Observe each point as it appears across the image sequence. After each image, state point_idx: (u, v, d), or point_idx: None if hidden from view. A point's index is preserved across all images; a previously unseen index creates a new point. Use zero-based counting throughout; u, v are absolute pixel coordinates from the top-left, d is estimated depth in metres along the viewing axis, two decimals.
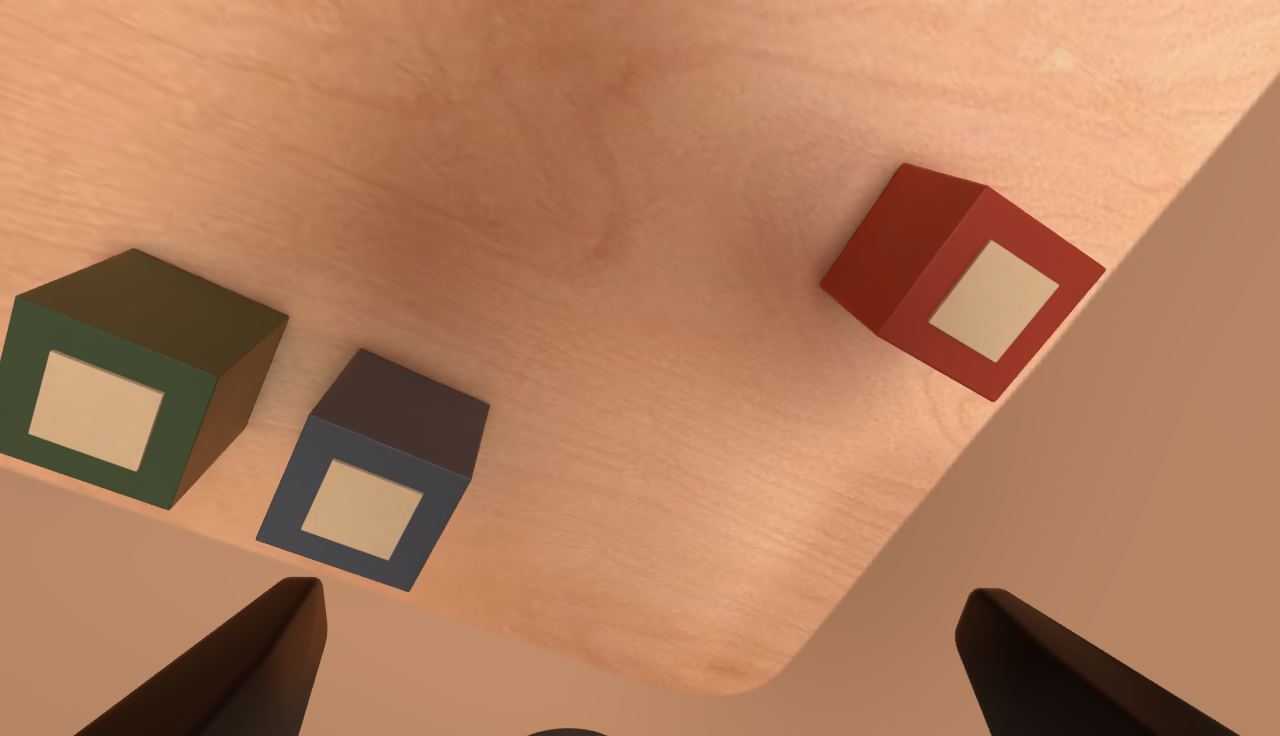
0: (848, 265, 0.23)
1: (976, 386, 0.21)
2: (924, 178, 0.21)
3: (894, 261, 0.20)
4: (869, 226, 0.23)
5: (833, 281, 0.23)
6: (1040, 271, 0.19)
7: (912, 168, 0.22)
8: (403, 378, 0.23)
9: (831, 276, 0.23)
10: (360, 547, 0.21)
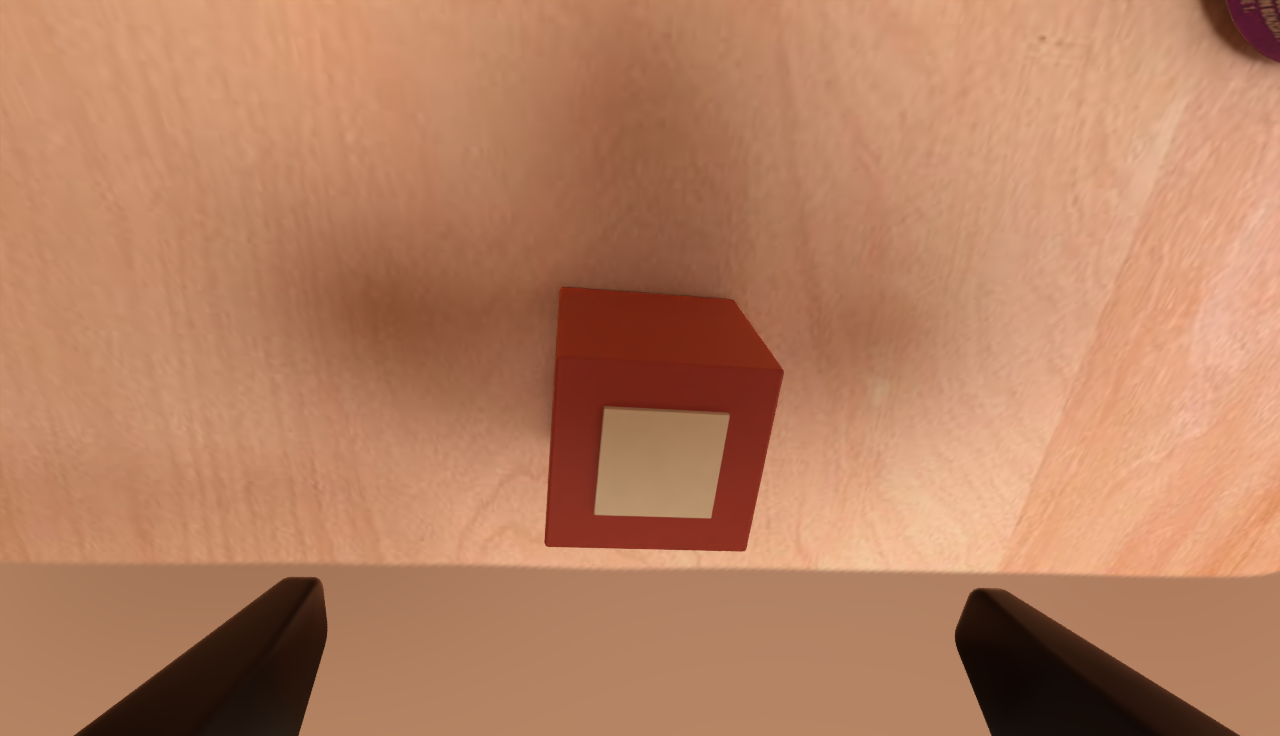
0: (604, 301, 0.17)
1: (554, 514, 0.15)
2: (738, 320, 0.17)
3: (645, 335, 0.15)
4: (656, 300, 0.18)
5: (576, 296, 0.18)
6: (716, 490, 0.16)
7: (736, 307, 0.18)
8: None
9: (579, 291, 0.18)
10: None
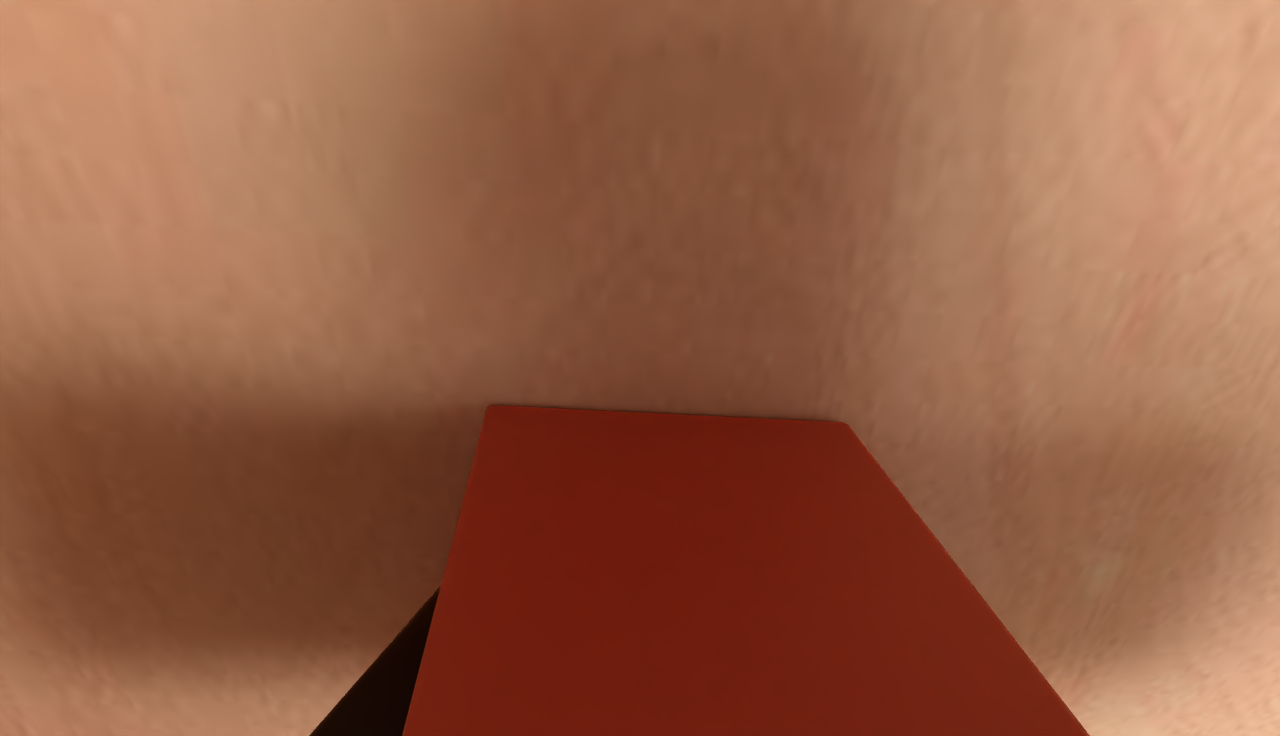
0: (577, 448, 0.08)
1: None
2: (884, 498, 0.08)
3: (679, 587, 0.06)
4: (691, 436, 0.08)
5: (517, 435, 0.08)
6: None
7: (862, 451, 0.09)
8: None
9: (525, 420, 0.08)
10: None
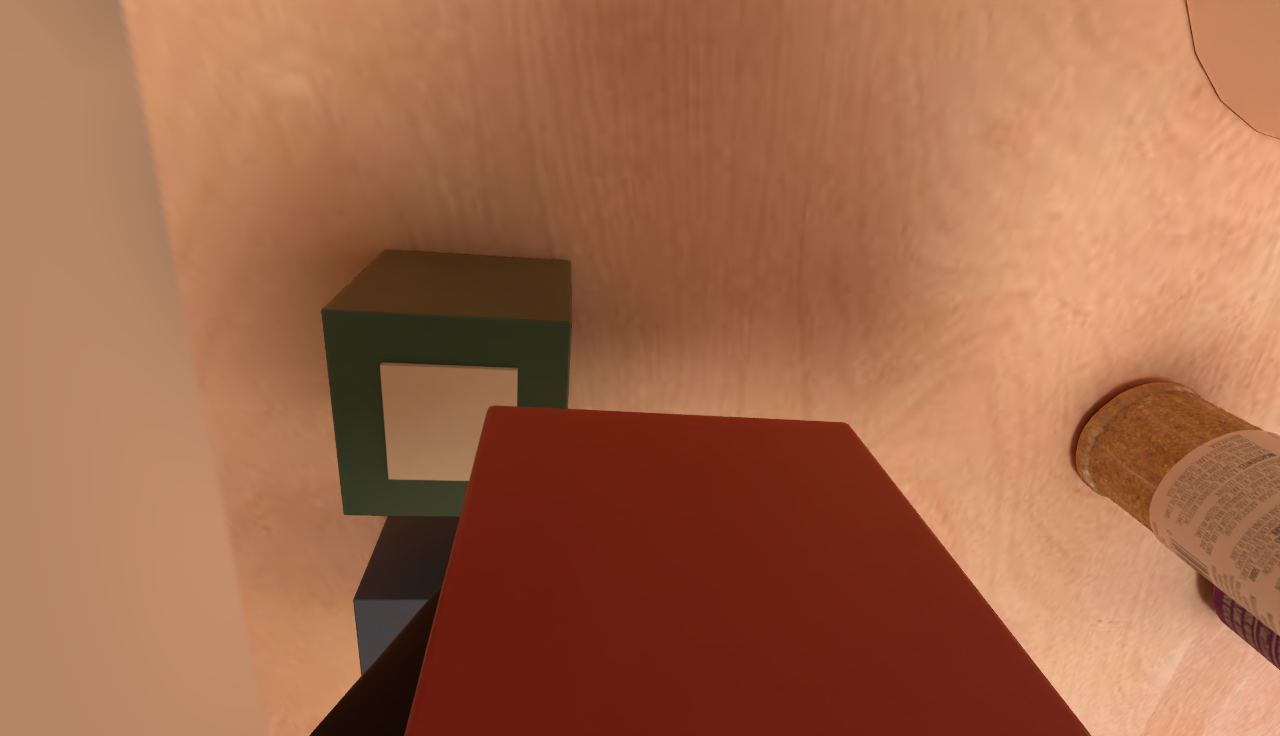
0: (579, 449, 0.08)
1: None
2: (885, 498, 0.08)
3: (681, 587, 0.06)
4: (692, 436, 0.08)
5: (518, 436, 0.08)
6: None
7: (863, 450, 0.09)
8: None
9: (527, 420, 0.08)
10: None
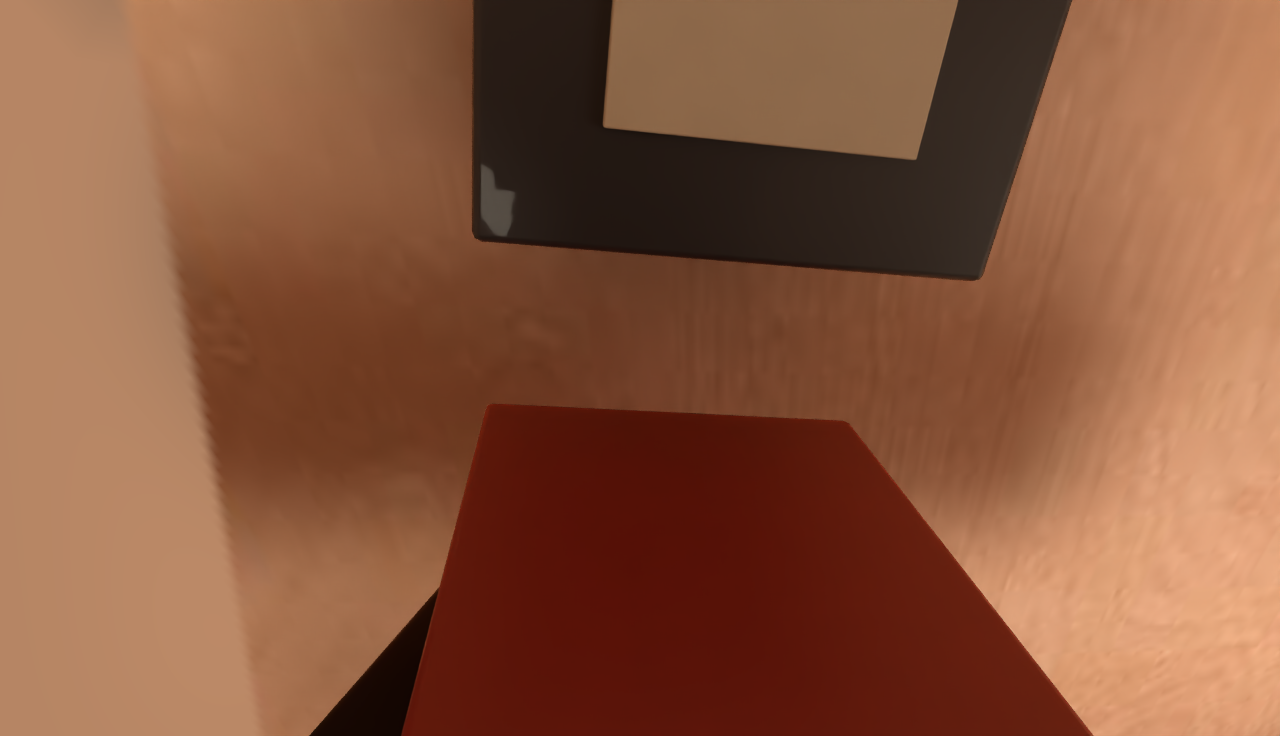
0: (577, 447, 0.08)
1: None
2: (885, 497, 0.07)
3: (679, 586, 0.06)
4: (691, 434, 0.08)
5: (516, 434, 0.08)
6: None
7: (863, 448, 0.08)
8: None
9: (525, 417, 0.08)
10: None
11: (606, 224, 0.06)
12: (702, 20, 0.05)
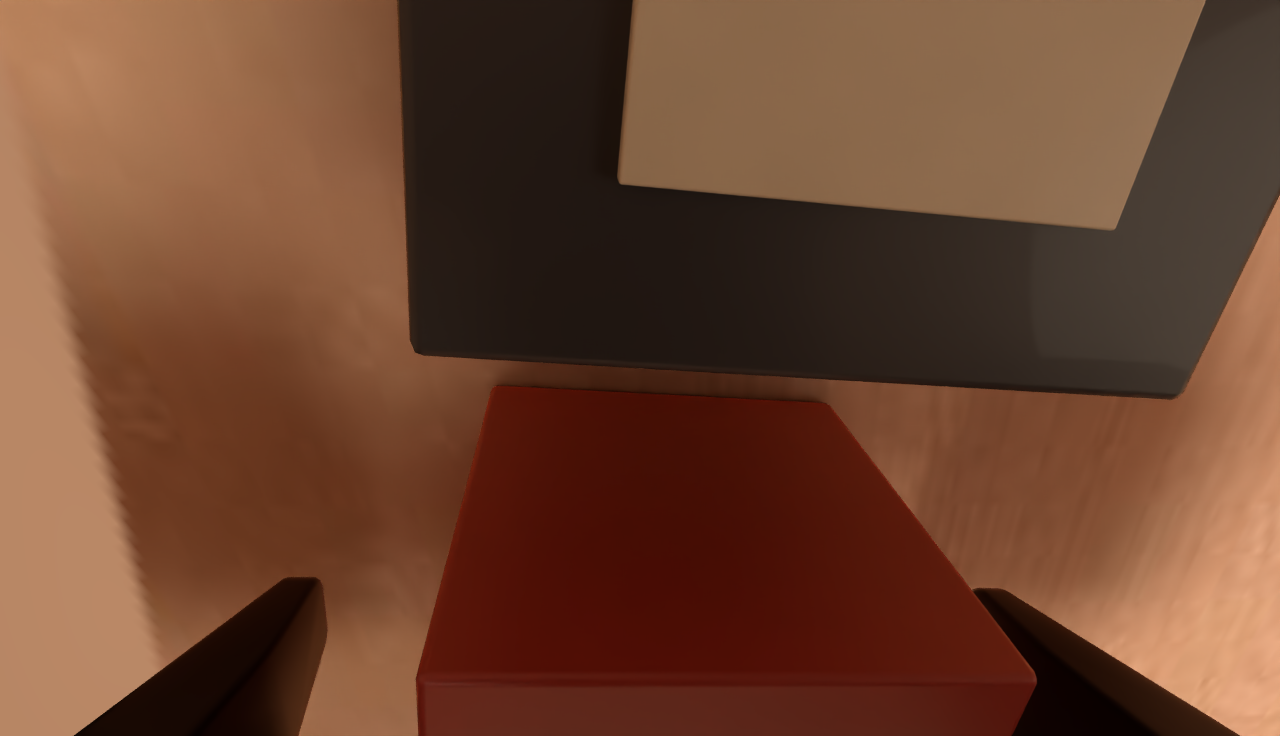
0: (576, 424, 0.08)
1: None
2: (858, 469, 0.08)
3: (666, 541, 0.06)
4: (681, 414, 0.09)
5: (520, 412, 0.09)
6: None
7: (842, 427, 0.09)
8: None
9: (528, 398, 0.09)
10: None
11: (621, 330, 0.04)
12: (789, 5, 0.03)
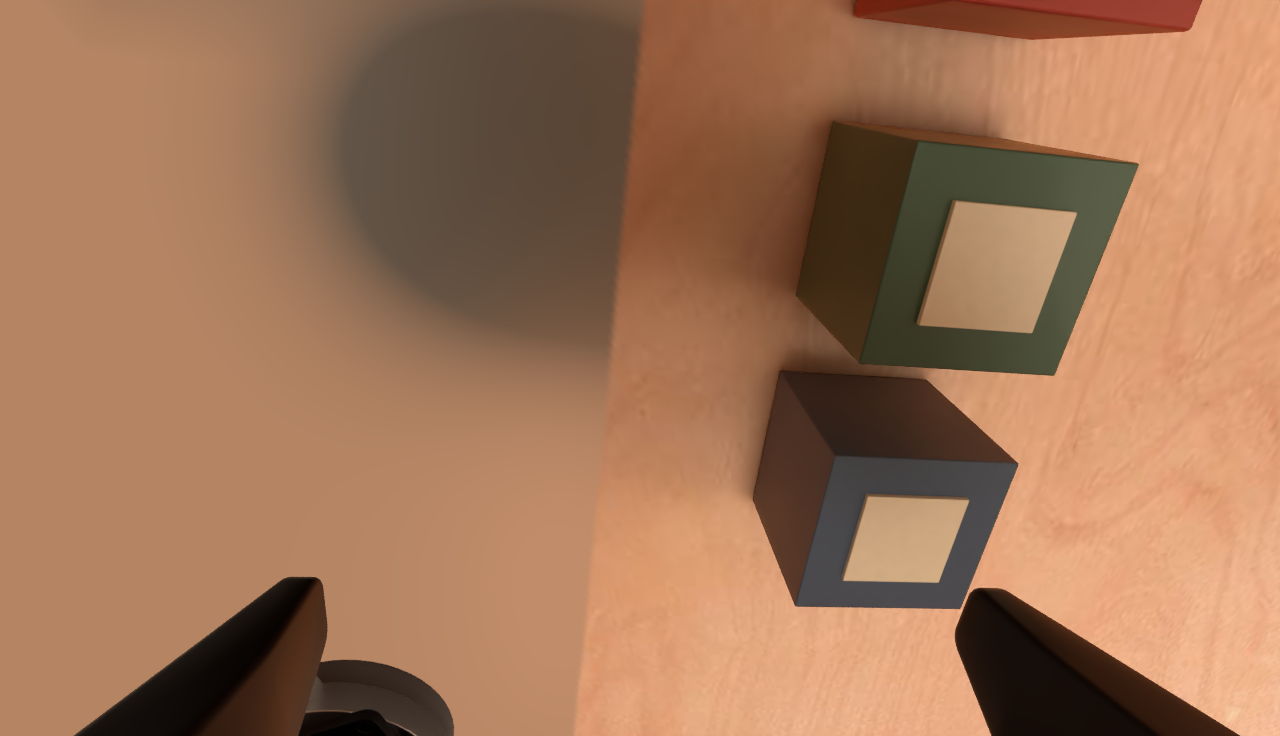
0: None
1: None
2: None
3: None
4: None
5: None
6: None
7: None
8: None
9: None
10: (849, 550, 0.18)
11: None
12: None
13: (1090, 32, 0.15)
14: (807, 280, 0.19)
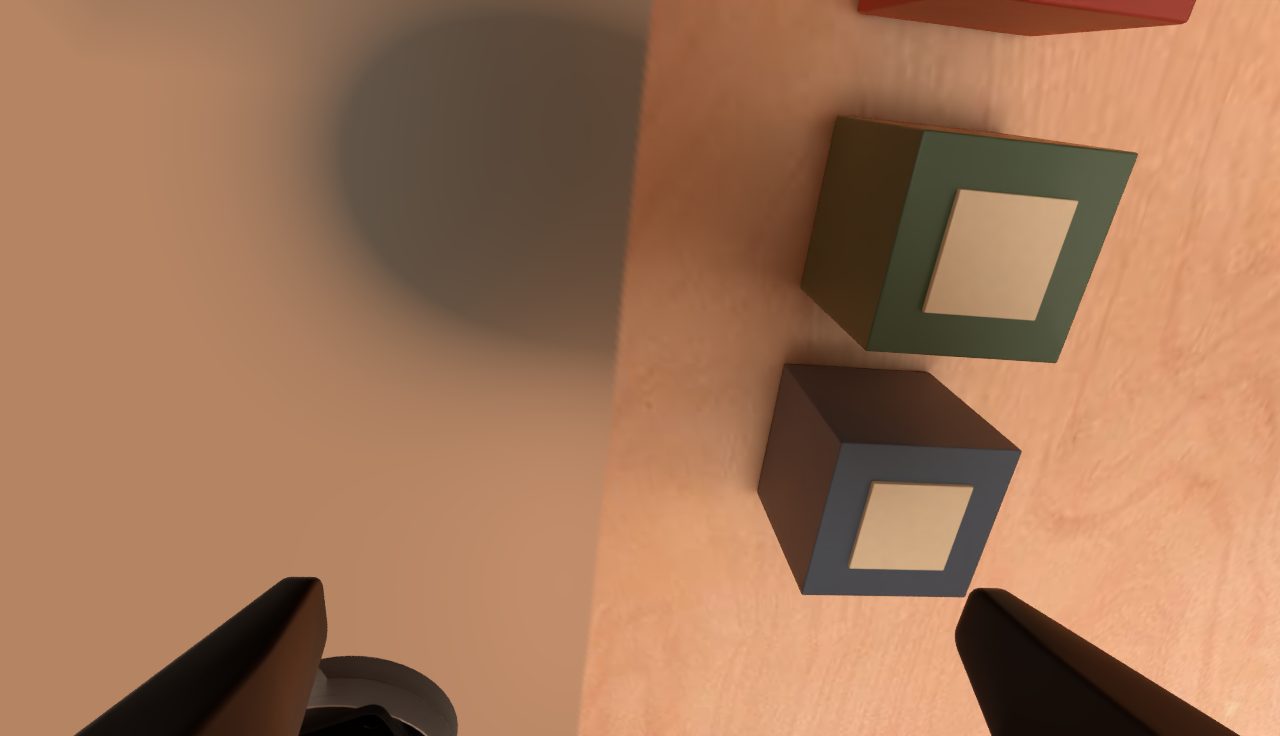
0: None
1: None
2: None
3: None
4: None
5: None
6: None
7: None
8: None
9: None
10: (855, 538, 0.18)
11: None
12: None
13: (1089, 26, 0.15)
14: (812, 272, 0.19)
